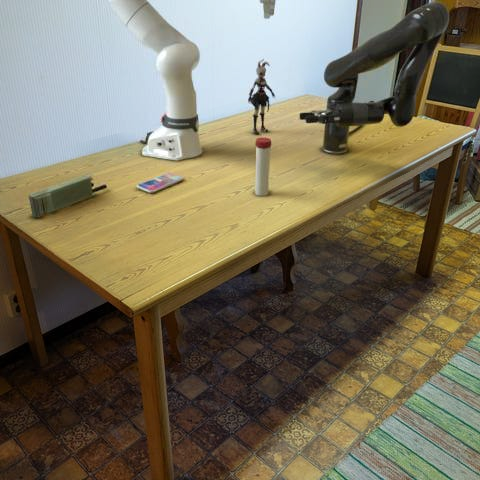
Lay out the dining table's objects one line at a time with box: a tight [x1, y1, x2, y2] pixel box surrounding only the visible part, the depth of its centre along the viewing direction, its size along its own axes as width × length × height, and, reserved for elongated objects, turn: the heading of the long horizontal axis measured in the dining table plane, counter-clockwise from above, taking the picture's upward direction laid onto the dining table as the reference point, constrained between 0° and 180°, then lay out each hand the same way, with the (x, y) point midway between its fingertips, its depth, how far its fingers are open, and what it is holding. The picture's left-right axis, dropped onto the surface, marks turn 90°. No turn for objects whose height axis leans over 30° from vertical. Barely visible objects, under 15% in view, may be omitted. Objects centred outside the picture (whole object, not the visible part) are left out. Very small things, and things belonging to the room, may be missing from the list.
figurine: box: [247, 58, 276, 135], centre depth 206 cm, size 15×6×30 cm, turn 132°
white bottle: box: [254, 146, 271, 197], centre depth 155 cm, size 4×4×17 cm
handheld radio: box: [28, 173, 108, 219], centre depth 150 cm, size 7×3×25 cm
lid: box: [255, 137, 272, 148], centre depth 151 cm, size 5×5×2 cm
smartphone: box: [136, 172, 184, 194], centre depth 164 cm, size 7×1×15 cm
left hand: (268, 16), depth 163 cm, fingers open, 8 cm apart
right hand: (302, 118), depth 164 cm, fingers open, 8 cm apart
